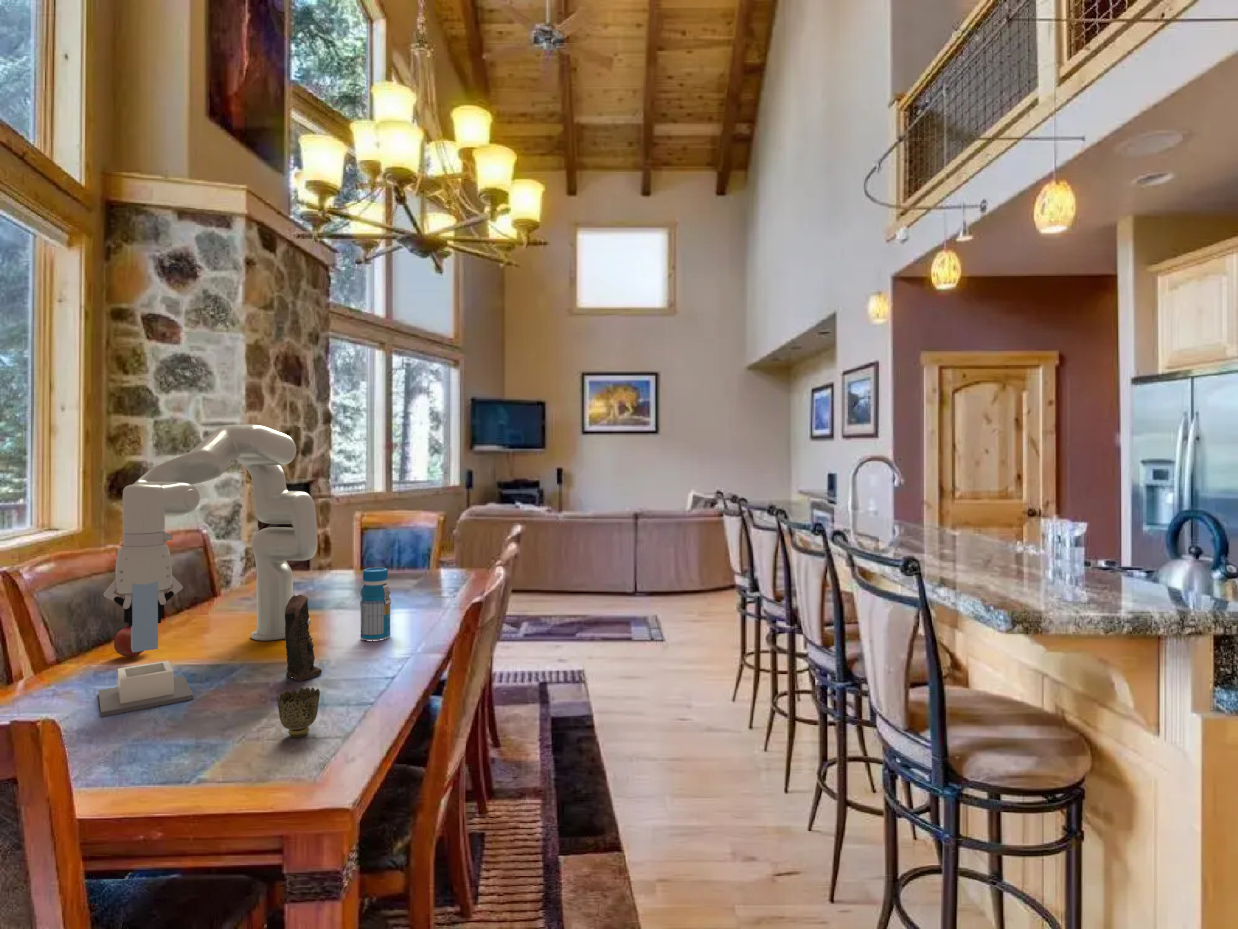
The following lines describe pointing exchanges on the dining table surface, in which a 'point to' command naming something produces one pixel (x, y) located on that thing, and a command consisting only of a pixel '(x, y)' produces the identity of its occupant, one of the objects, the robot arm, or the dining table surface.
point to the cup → (298, 710)
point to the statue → (299, 640)
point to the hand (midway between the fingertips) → (144, 623)
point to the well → (144, 689)
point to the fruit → (124, 643)
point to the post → (144, 617)
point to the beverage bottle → (375, 605)
